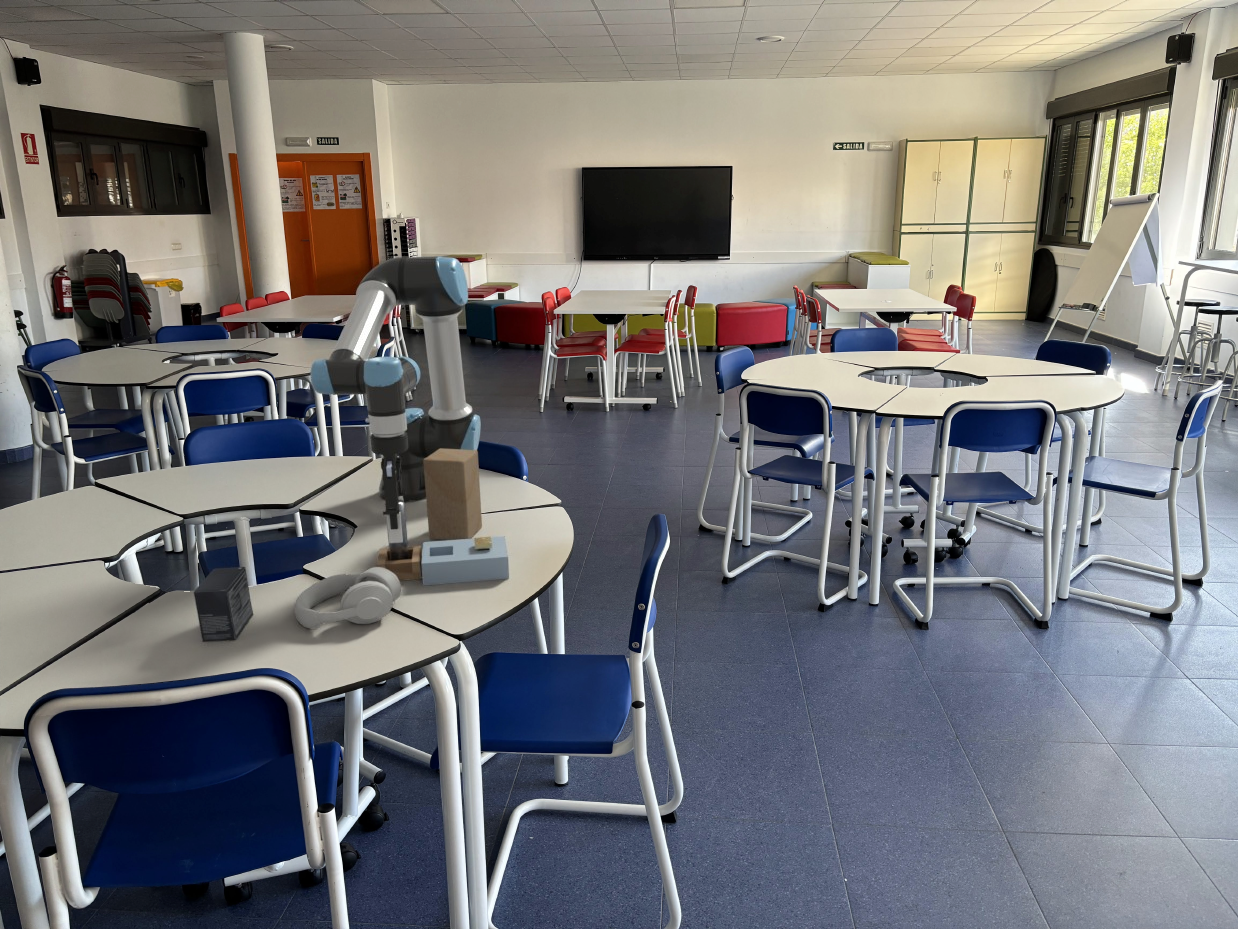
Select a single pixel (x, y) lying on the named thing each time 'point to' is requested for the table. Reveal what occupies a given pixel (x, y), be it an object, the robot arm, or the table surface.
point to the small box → (223, 604)
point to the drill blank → (401, 549)
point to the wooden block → (453, 494)
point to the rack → (402, 563)
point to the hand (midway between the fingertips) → (397, 533)
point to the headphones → (350, 598)
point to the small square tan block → (483, 543)
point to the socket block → (463, 561)
